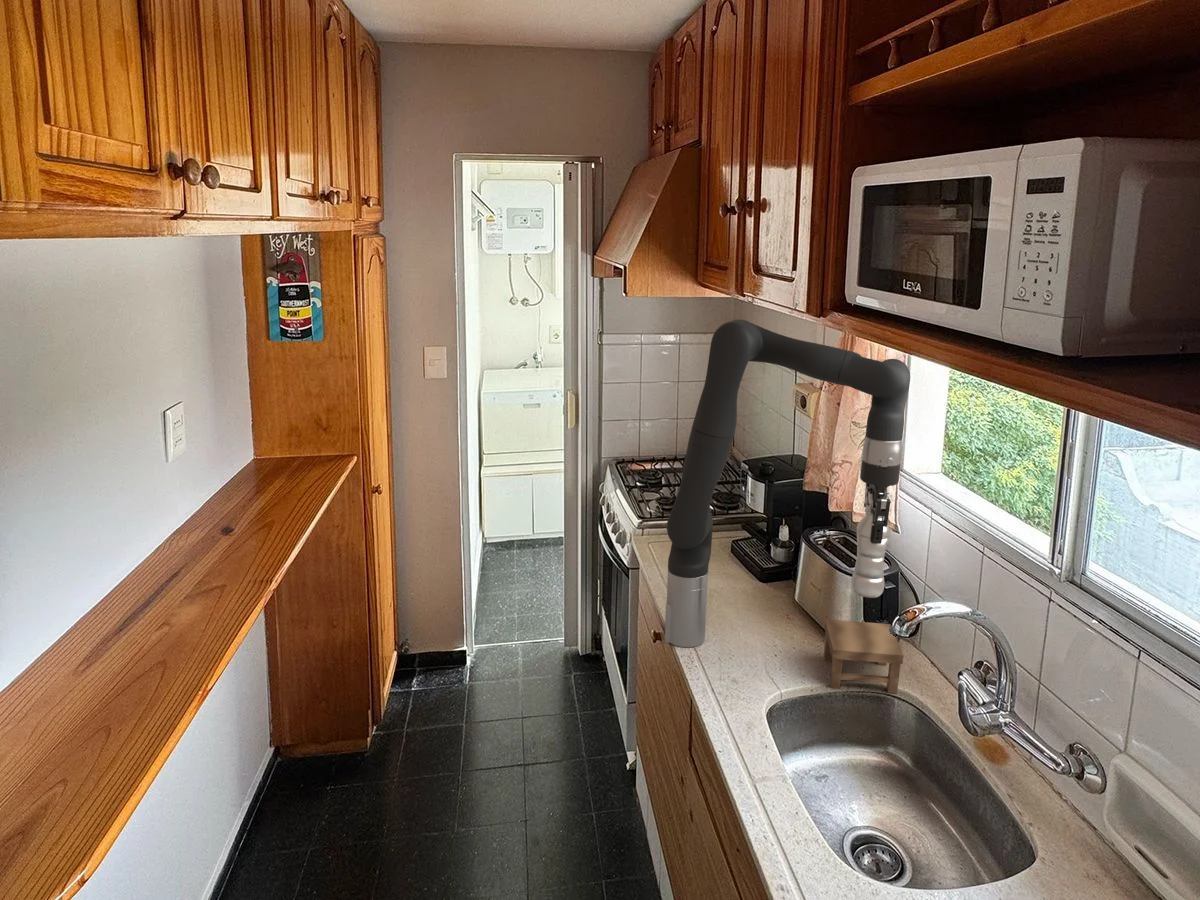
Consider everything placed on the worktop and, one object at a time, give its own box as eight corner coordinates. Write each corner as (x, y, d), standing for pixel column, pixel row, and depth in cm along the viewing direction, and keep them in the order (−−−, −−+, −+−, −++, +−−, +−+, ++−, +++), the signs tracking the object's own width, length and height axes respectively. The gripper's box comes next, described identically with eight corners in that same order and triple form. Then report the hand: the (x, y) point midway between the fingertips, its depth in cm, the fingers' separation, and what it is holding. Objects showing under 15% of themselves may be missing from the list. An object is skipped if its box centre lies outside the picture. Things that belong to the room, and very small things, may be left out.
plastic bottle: (884, 603, 171) (895, 511, 166) (850, 599, 172) (860, 508, 167) (881, 590, 177) (891, 501, 172) (848, 587, 178) (857, 499, 173)
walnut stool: (829, 688, 174) (833, 649, 171) (821, 655, 187) (825, 619, 185) (898, 694, 172) (903, 655, 170) (886, 660, 185) (890, 624, 183)
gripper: (856, 448, 174) (849, 523, 179) (868, 468, 161) (859, 548, 165) (893, 450, 173) (885, 526, 178) (908, 470, 160) (898, 551, 164)
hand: (872, 536), depth 171 cm, fingers closed on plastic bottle, 6 cm apart
